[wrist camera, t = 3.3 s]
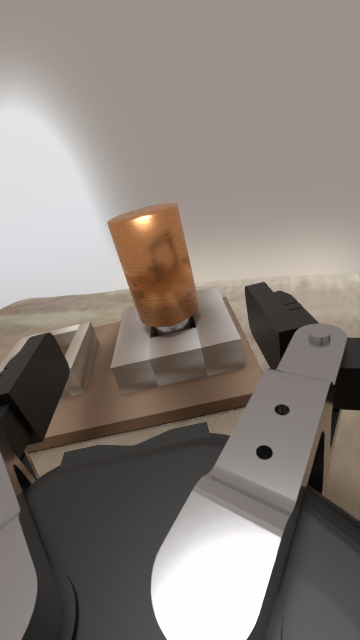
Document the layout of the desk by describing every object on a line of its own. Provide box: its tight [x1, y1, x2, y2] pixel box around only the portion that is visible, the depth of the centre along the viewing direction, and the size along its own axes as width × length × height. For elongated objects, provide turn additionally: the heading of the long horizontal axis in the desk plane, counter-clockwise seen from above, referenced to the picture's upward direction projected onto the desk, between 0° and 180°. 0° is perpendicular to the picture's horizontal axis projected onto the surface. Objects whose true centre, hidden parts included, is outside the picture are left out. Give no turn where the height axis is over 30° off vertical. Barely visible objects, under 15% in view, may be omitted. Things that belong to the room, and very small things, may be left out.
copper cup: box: [107, 203, 199, 336], centre depth 22 cm, size 5×5×11 cm
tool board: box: [0, 287, 263, 453], centre depth 25 cm, size 22×14×4 cm, turn 93°
